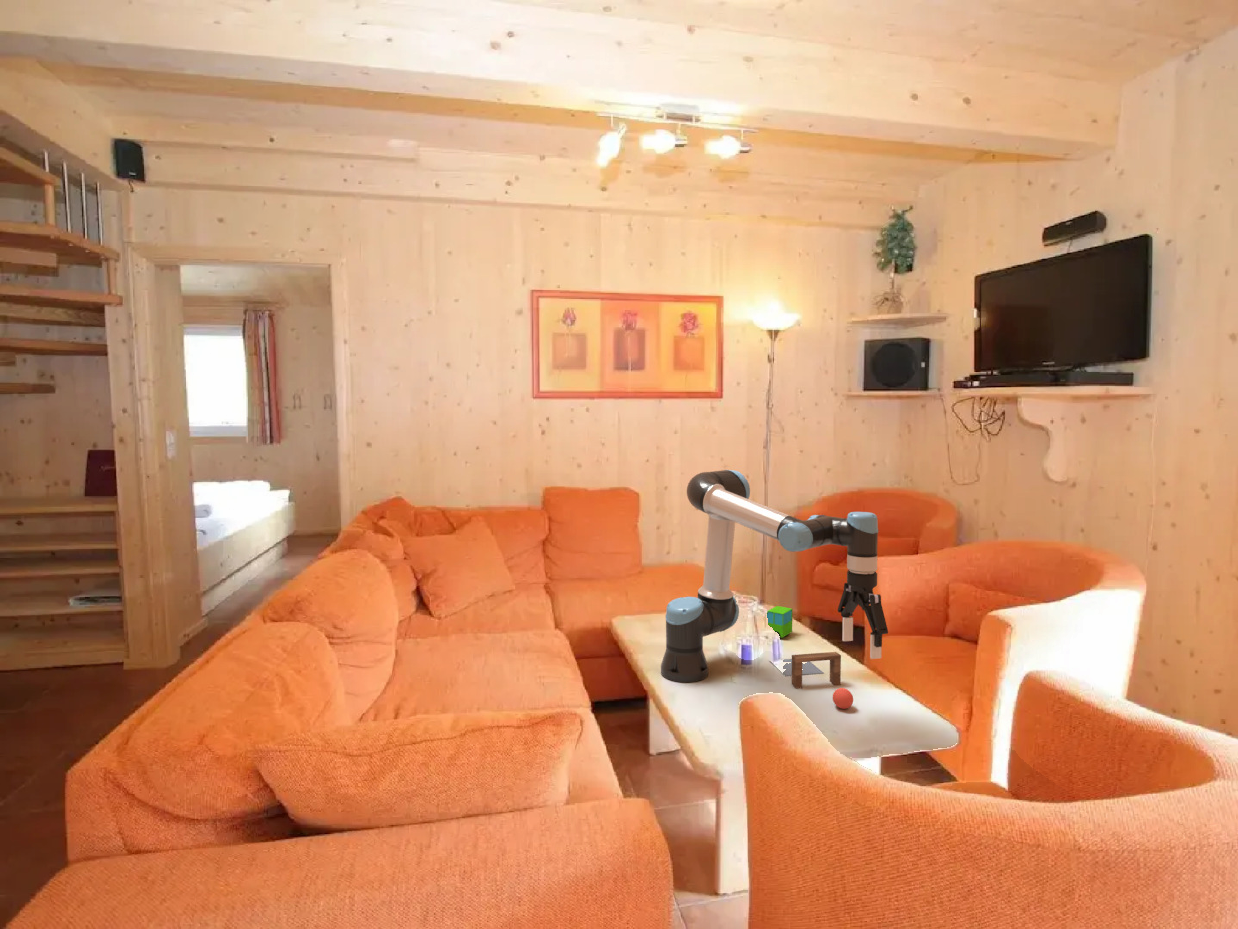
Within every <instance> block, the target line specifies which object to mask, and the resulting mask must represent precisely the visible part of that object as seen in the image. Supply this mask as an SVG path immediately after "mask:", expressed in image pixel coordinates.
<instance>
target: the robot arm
mask: <svg viewBox="0 0 1238 929" xmlns="http://www.w3.org/2000/svg"><path fill="white" fill-rule="evenodd" d="M750 495H751V488H750V483H749V482H748V479H747V478H746V477H745V475H744V474H742V473H741V472H740V471H738V470H732V469H724V470H723V469H722V470H714V471H704V472H703V471H702V472H700V473H697V474H695V475H694V476H693V477H692V478H691V479H690V480H689V482H688V483H687V487H686V496H687V499H688V501H689V503H690V504H691V506H693V507H694V508H695V509H696V510H699V511H700V512H703V513H705V514H707V515H708V522H707V534H706V535H707V536H706V548H705V558H704V559H705V561H704V571H703V581H702V582H703V584H702V586H701V587H699V588H698V590H697V596H685V597H683V596H682V597H677V598H674V599H671V601H669V602H668V604H667V605H666V610H665V612H666V613H665V651H664V655H663V658H662V661H661V663H660V674H661V676H662V677H664V678H665V679H667V680H670V681H673V682H677V683H693V682H698V681H702V680H705V679H706V678H707V677H708V675H709V665H708V662H707V659H706V655H705V653H704V648H703V647H704V645H703V644H704V643H703V642H704V638H703V637H707V636H710V635H713V634H717V633H721V632H725V631H727V630H728V629H731V628H732V627H733V626H735V624H736V623H737V621H738V619H739V615H740V611H739V610H740V608H739V604H738V603H737V600H736V598H735V597H734V592H733V591H732V589H730V584H731V574H732V573H731V571H732V561H733V550H734V539H735V528H736V524H740V525H741V526H743V527H746V528H749V529H750V530H753V531H755V532H758V533H760V534H762V535H764V536H767V537H769V538H771V539H773V540H777V541H778V542H779V544H780V545H781V546H782V548H783V549H785V550H786V551H787V552H790V553H791V552H793V553H794V552H803V551H805V550H810V549H814V548H817V547H823V546H827V545H834V546H842V547H847V548H846V550H847V552H846V553H847V556H846V568H847V569H848V570H847V571H846V582H844V585H843V591H842V595H841V598H840V602H839V605H838V607H837V612H838V613H839V614H840V615H841V617H842V635H841V636H842V640H841V641H842V642H851V641H852V642H853V641H854V617H853V616H854V611H855V610H856V608H857V607H858V606H859V607H860V608H861V609H862V611H864V613H865V616H866V620H867V621H868V624H869V626H870V630H871V632H870V638H869V640H870V641H869V642H870V644H869V645H870V646H869V648H870V649H869V650H870V651H869V658H870V660H875V659H877V660H878V659H882V646H883V635H887V634H888V633H889V629H888V625H887V622H886V617H885V614H884V609H883V605H882V596H881V594H878V593H877V594H874V591H873V590H874V588H876V587H877V586H878V573H877V571H878V539H879V538H878V537H879V524H878V523H879V522H878V516H877V515H876V514H875V513H873V512H869V511H851V512H849V513H848V514H847V517H837V516H830V515H826V514H819V515H818V514H812V515H810V516H809V518H808V519H804V520H802V519H799V518H796V517H794V516H791V515H790V514H787V513H785V512H782V511H780V510H777V509H775V508H771V507H769V506H766V505H764V504H761V503H759V502H757V501H754V500H752V499H749V498H750Z"/></svg>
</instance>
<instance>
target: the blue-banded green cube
mask: <svg viewBox="0 0 1238 929" xmlns="http://www.w3.org/2000/svg"><path fill="white" fill-rule="evenodd" d="M766 614H767V618H768V625H769V626H770V627H772V628H773V630H774V631H775V632H777V633H778V634H779V636H780V639H781V638H782V639H783V638H784V637H786V636H788V635H790V634H791V633H792V632H793V608H791V607H785V606H780V605H775V607H772V608H771V609H769V610H767V611H766Z"/></svg>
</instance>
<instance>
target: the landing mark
mask: <svg viewBox="0 0 1238 929" xmlns="http://www.w3.org/2000/svg"><path fill="white" fill-rule="evenodd" d="M783 662H791V663H789V664H788V663H786V664H785V665H784V666H783V669H786V670H785V671H784V672H783V674H782V675H783V676H784V675H785V676H784V677H792V658H785V659H784V660H783ZM802 669H803V670H802V676H809V675H820V674H821V675H822V674H825V673H824V671H823V670H821V669H820V668H819V667H817V666H816V665H815V664H814V663H812V661H810V662H807V663H805V664H803V663H802Z"/></svg>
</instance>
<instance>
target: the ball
mask: <svg viewBox="0 0 1238 929" xmlns="http://www.w3.org/2000/svg"><path fill="white" fill-rule="evenodd" d="M832 701H833V703H834V705H835V706H837V708H838V709H839V708H840V709H842V710H843V709H844V710H845V709H849V708H850V707H852V705H853V703H854V695H853V694H852V692H851V691H850V690H848V688H844V687H839V688H837V689H835V690H834V691H833V693H832Z"/></svg>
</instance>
